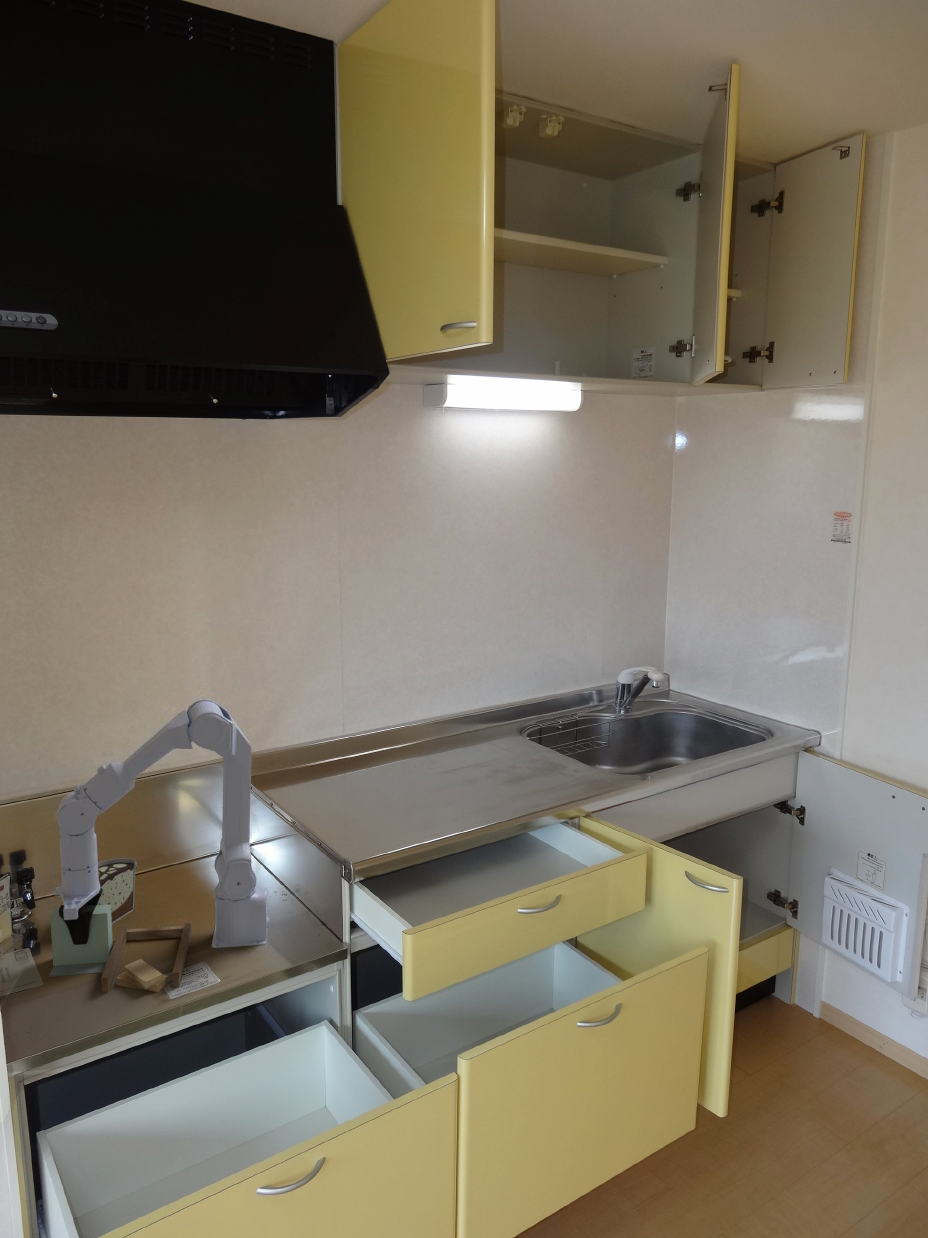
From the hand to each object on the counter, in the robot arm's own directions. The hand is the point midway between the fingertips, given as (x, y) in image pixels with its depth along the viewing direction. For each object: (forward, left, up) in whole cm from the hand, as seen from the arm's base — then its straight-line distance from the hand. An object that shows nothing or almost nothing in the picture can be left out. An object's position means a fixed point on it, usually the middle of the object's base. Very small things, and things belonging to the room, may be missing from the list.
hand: (83, 938), depth 152 cm
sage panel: (0, 0, -4) cm, 4 cm away
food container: (0, -15, -5) cm, 16 cm away
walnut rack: (-11, +3, -4) cm, 12 cm away
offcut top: (-11, +9, -3) cm, 14 cm away
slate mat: (0, 0, -4) cm, 4 cm away
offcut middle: (-11, +9, -4) cm, 14 cm away
